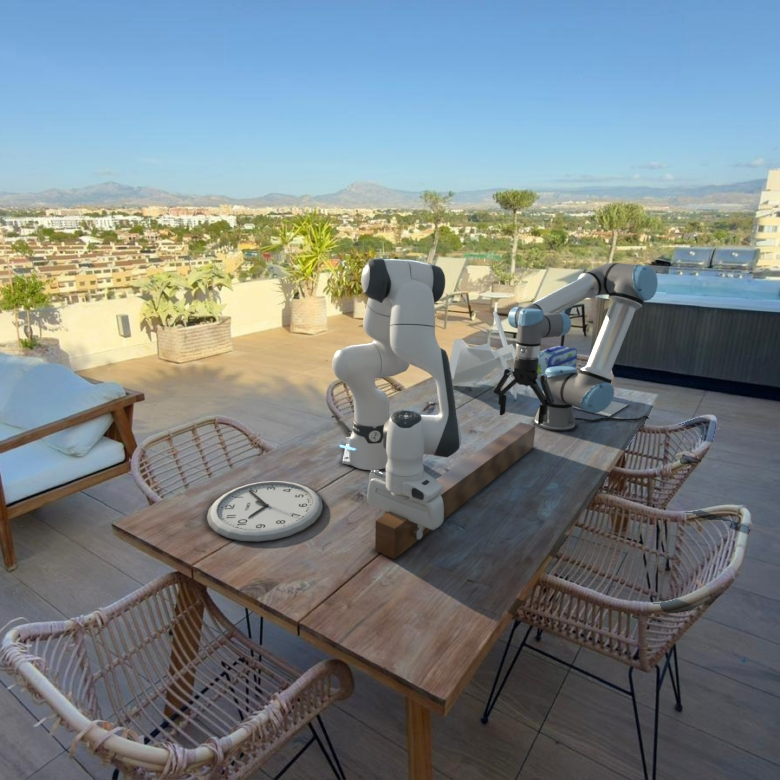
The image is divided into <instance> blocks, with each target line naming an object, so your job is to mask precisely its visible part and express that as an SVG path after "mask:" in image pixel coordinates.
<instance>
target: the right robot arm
mask: <svg viewBox="0 0 780 780" xmlns="http://www.w3.org/2000/svg"><path fill="white" fill-rule="evenodd" d="M658 283H659V282H658V275H657V273H656V270H655V269H654V268H652V266H649V265H643V264H634V263H633V264H632V263H621V262H620V263H619V262H610V263H609V262H608V263H605V264H602V265H599V266H597V267H594V268H592V269H589V270H587V271H585V272H583V273H581V274H580V275H579V276H578V277H577V279H576V280H574V281H572V282H571V283H569V284H566V285H565V286H562V287H561V288H559V289H557V290H555V291H553V292H551V293H549V294H547V295H546V296H544V297H542V298H540V299H537V300H536V301H534V302H532V303H531V304H528V305H527V306H524V307H523V306H515V307H513V308H511V309H510V310H509V313H508V315H507V321H508V325H510V327H512V328H515V329H516V343H515V349H516V353H515V355H516V356H517V357H515V363H514V362H513V363H514V365H513V369H512V368H511V367H508V368H507V369H505V371H504V370H503V375H502V377H501V378H500V380H499V381H498V383H497V385H496V387H495V388H494V390H493V394H496V395H497V396H498V398H497V399H498V400H497V401H498V402H497V404H498V405H499V416H503V415H505V414H506V407H507V394H506V393H507V392H508V391H510V390H509V389H511V388H512V387H513V386H514V387H515V385H516V384H518V385H520V386H521V385H525V386H527V387H530V389H531V390H532V392H534V394H535V396H536V397H537V399H538V400H539V402H540V404H539V407H538V410H537V411H536V413H535V416H534V424H535V426H537V427H539V428H542V429H544V430H549V431H556V432H567V431H572V430H574V429H575V428H576V421H584V422H591V423H593V422H598V421H602V420H610V421H611V420H612V421H640V420H642V419H644V418H645V419H647V420H650V418H649V416H648V415H642V416H640V417H637V418H621V417H620V418H619V417H616V418H615V417H599V418H596V419H589V418H583V417H576V416H575V413H574V407H578V408H580V409H582V410H581V411H584V410H585V411H584V412H588V411H589V412H588V413H593V414H596V413H598V412H601V411H602V410H604V409H606V408H607V407H608V406H609V404H610V403H611V401H613V399H614V396H615V387H614V386H613V385H612V382H613V378H612V376H611V372H612V370H613V368H614V365H615V362H616V360H617V357H618V355H619V353H620V350H621V347H622V345H623V342H624V340H625V337H626V335H627V332H628V330H629V328H630V325H631V322H632V320H633V318H634V315H635V313H636V311H637V310H639V309H641V308H643V305H644V303H645V302H647V301H650V300H652V298H653V297H654V296H655V295H656V293H657V290H658ZM598 296H607V298H608V300H609V302H610V303H609V307H608V309H607V312H606V314H605V317H604V319H603V321H602V324H601V327H600V329H599V332H598V333H597V334H598V335H597V336H596V339H595V342H594V344H593V347H592V349H591V352H590V354H589V357H588V360H587V361H586V364H585V366H583V367H581V368H580V369H579V371H578V369H577V367H576V368H575V367H569V366H555V367H549V368H547V369H546V370H545V374H544V375H538V373H537V371H538V362H539V359H538V357H539V353H540V352H541V343H542V339H544V338H545V339H546V338H555V337H557V338H558V337H561V336H566V335H567V334H568V333H569V332H570V331H571V328H572V320H571V317H570V316H569V315H568V314H567V313H564V311H565V310H568V309H569V308H571V307H573V306H575V305H577V304H578V303H580V302H582V301H584V300H586V299H593V298H595V297H598ZM509 375H511V376H513V379H512V381H511V383H509V384H507V385H506V386H505V387H504V385H505V384H506V383H507V379H508V377H509ZM537 378H538V379H539V381H540V382H541V386H542V388H543V390H542V391H541V389H540V388H539V386H538V383H537V382H536V379H537ZM580 409H579V410H580Z"/></svg>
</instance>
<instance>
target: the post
mask: <svg viewBox="0 0 780 780" xmlns="http://www.w3.org/2000/svg"><path fill="white" fill-rule="evenodd" d="M535 434H536V425H534V424H529V423H525V422H519V423H518V424H516V425H514V426H513V427H511V428H510V429H508V430H507V431H505V432H504V433H503V434H501V435H499V436H498V437H496V438H495V439H494V440H492V441H490V443H488V444H486V445H485V446H483V447H482V448H481V449H479V450H478V451H476V452H474V453H473V454H471V455H470V456H468V457H467V458H465V459H464V460H463V461H461V462H459V463H458V464H457V465H455V466H453V467H452V468H451V469H449V470H448V471H446V472H445V473H444V474H442V475H441V476H439V477H437V478H436V479H435V480H436V481H438V482H439V483H440V484H441V485H442V491H441V492H440V493H439V494H440V495H441V497H442V499H443V504H444V520H446V518H447V517H449V516H450V515H452V514H453V513H454V512H455V511H457V510H458V509H459V508H460V507H461V506H463V505H464V504H465V503H466V502H467V501H469V500H470V499H472V497H474V496H475V495H477V493H480V491H481V490H482V489H484V488H485V487H486V486H487V485H489V484H490V483H491V482H492V481H493V480H495V479H496V478H497V477H499V476H500V475H501V474H502V473H504V472H505V471H506V470H507V469H509V468H510V467H511V466H512V465H514V464H515V463H516V462H517V461H518V460H520V459H521V458H522V457H523V456H524V455H526V454H527V453H529V452H530V451H531V450H532V449H533V448H534V444H535ZM416 529H419V528H418V527H417V524H416V523H414V522H411V521H409V520H408V519H407V518H404V517H402V516H399V515H397V514H394V513H392V512H388V513H386V514H385V515H383V516H382V515H381V516H380V517H379V518H377V519H376V520H375V534H374V535H375V537H374V538H375V539H374V541H375V544H374V545H375V546H374V547H375V548H374V551H375V552H377V553H380V554H382V555H384V556H386V557H388V558H390V559H392V560H396V559H397V558H398V557H400V556H401V555H402V554H403V553H405V551H407V550H408V549H409V548H410V547H412V546H413V545H414V544H415V543H417V542H418V541H419V540H418V539H416V538H414V537H413V536H414V534H413V532H414V531H415V530H416ZM430 531H432V530H431V529H428V528H425V529H424V530H423V535H422V538H423V537H424V536H426V535H427V534H428V533H429V532H430Z"/></svg>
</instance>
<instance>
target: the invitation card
mask: <svg viewBox="0 0 780 780" xmlns="http://www.w3.org/2000/svg"><path fill="white" fill-rule="evenodd" d="M628 406H629V404H627V403H623V402H618V401H614V400H612V401H611V403H610V404H609V406H608V407H607V408H606V409H604V410H602V411H601V412H598V413H595V414H596V415H600V416H604V417H607V418H610V417H612V416H613V415H614V414H616V413H617V412H619V411H621V410H623V409H624V408H626V407H628ZM573 409H575V410H581V411H584V412H586V411H585V410H582V409H580V408H578V407H575V406H573ZM587 413H590V412H589V411H587Z"/></svg>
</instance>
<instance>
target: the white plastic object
mask: <svg viewBox="0 0 780 780" xmlns="http://www.w3.org/2000/svg"><path fill="white" fill-rule="evenodd" d="M492 315H493V319H494V321H495V324H496V325H495V326H496V328H497V332H498V335H499V338H500V342H501V345H502V347H500V348H498V349H496V350H495V349H493V348H492V347H491V346H490V344H489V343H488V342H487V343H483V344H479V345H473V346H469V345H468V343H466V342H465V340H464V339H463V338H460V339H458V338H454V340H453V344H452V349H451V353H450V357H449V364H450V371H451V376H452V383H453V385H458V384H467V383H468V384H469V383H473V384H477V383H480V382H482V381H484V378H485V377H486V376H487V375H489V374H490V373H492V372H494V371H495V370H496V369H497V368H499V367H500V366H502V370H503V372H504V371H505V369H507V368H509V365H508V361H510V360H513V363H515V357H517V356H516V355H515V353H516V347H515V346H514V345H513V343H511V344H508V341H507V337H506V334H505V331H504V328H503V325H502V321H501V318H500V315H499V314H498V312H497V311H496V310H495V311H492ZM512 380H513V378H512V374H511V375H509V377H508V379H507V380H506V383H507V385H508V384H509V383H511V381H512ZM520 386H521V389H522V391H523V393H524V395H525V396H526V397H528V396H531V395H530V390H529V388H528V387H529V386H525V385H520ZM508 391H509V393H510V394H511V395H512V397H513V398H514V399H515V400H517V392H516V391H517V390H516V388H515V385H514V386H513V387H512V388H511V389H509V390H508Z"/></svg>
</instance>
